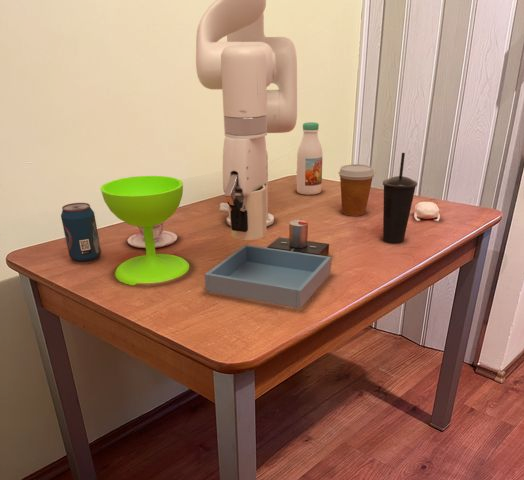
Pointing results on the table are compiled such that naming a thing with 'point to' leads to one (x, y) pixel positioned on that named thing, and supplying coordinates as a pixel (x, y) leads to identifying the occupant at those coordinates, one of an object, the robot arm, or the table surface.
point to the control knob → (298, 233)
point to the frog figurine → (426, 211)
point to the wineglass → (146, 224)
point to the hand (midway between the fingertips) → (248, 223)
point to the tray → (269, 275)
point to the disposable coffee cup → (355, 188)
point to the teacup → (159, 236)
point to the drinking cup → (397, 205)
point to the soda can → (81, 233)
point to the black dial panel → (311, 248)
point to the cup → (253, 215)
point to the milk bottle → (309, 161)
